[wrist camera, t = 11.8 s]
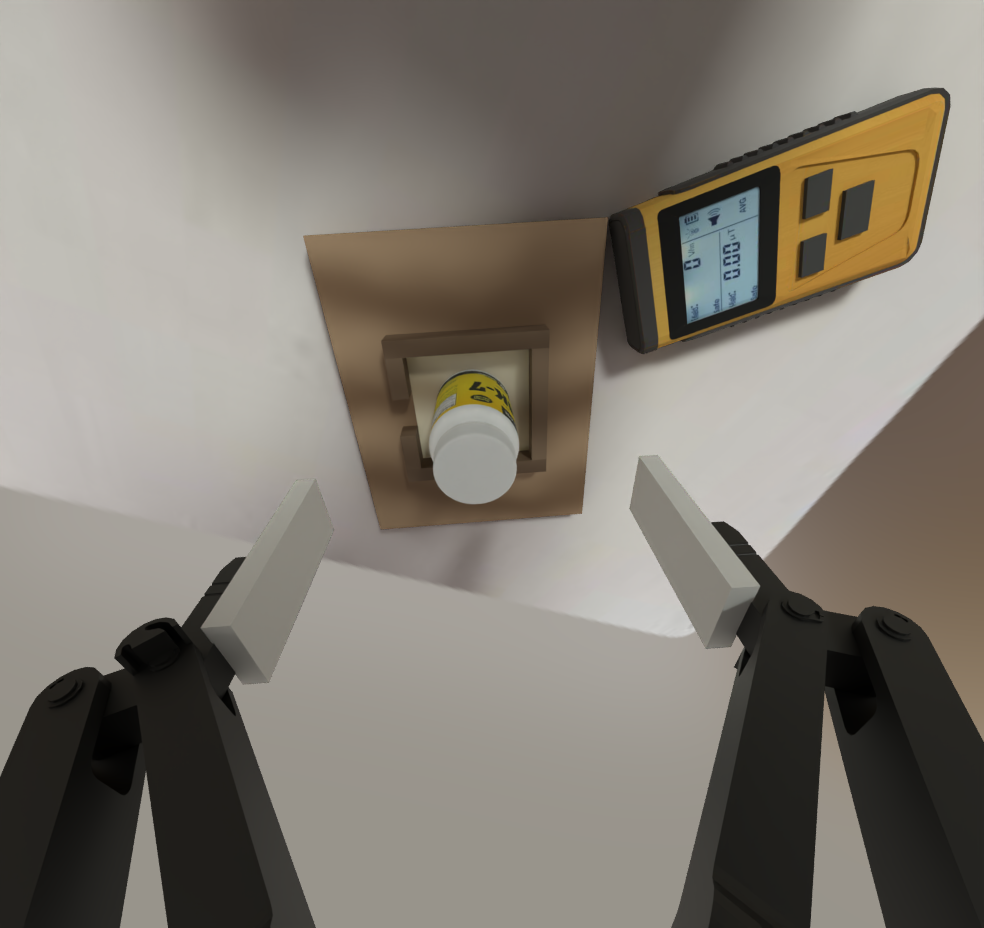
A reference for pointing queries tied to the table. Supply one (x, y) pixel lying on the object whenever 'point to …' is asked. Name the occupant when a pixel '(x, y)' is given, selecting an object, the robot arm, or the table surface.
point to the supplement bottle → (473, 438)
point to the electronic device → (780, 222)
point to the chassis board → (466, 352)
